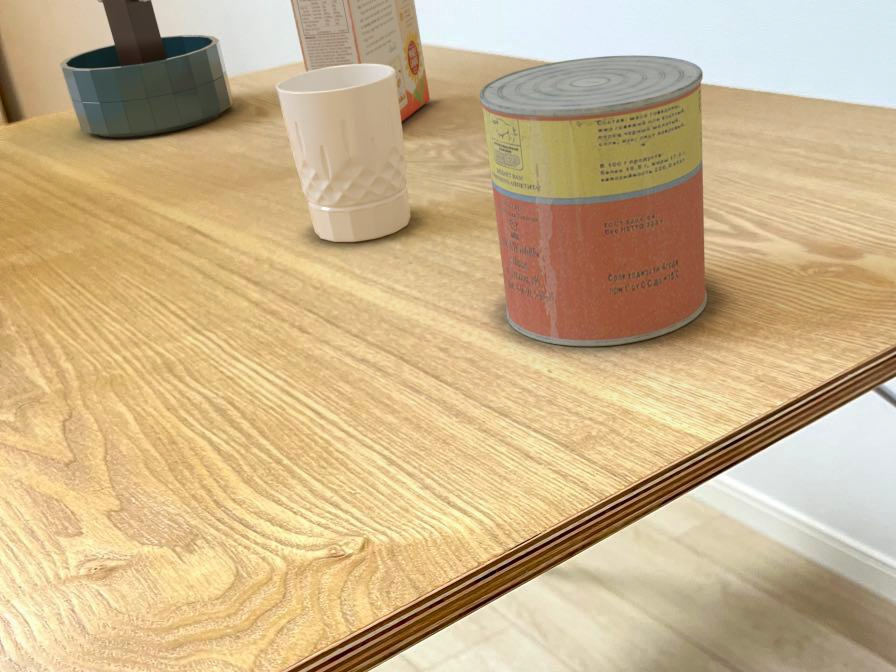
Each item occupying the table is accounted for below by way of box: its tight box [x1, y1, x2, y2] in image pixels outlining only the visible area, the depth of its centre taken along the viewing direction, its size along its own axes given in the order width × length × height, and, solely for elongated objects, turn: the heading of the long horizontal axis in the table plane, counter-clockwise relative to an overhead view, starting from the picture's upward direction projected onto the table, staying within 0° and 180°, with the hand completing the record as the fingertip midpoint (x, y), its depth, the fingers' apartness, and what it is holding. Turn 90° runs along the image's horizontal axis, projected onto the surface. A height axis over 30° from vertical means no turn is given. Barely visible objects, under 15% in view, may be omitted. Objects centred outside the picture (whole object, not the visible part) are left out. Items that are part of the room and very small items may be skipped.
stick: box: [102, 0, 167, 66], centre depth 111 cm, size 3×3×14 cm
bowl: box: [59, 34, 234, 139], centre depth 114 cm, size 15×15×6 cm
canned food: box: [478, 54, 708, 347], centre depth 61 cm, size 11×11×12 cm
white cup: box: [274, 64, 412, 243], centre depth 78 cm, size 8×8×10 cm
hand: (126, 1), depth 110 cm, fingers closed on stick, 3 cm apart
